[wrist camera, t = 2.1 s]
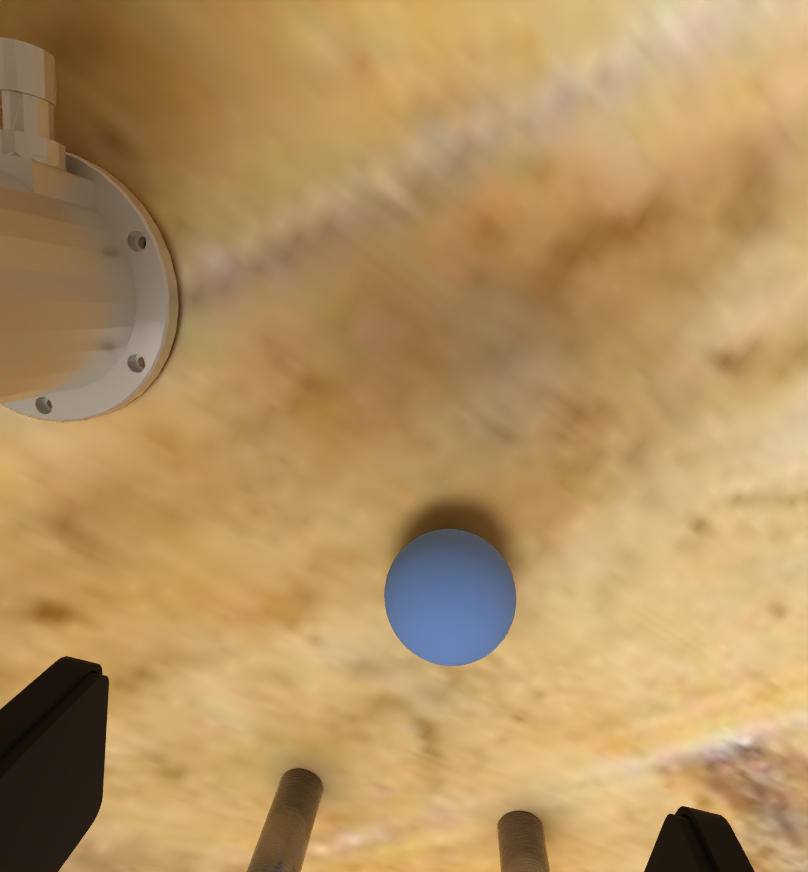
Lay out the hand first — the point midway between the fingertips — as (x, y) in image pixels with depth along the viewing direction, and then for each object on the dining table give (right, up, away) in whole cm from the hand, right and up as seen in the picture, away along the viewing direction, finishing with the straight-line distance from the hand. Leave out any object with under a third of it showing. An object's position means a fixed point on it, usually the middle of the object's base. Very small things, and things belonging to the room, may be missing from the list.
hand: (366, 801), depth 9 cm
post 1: (-6, -15, +23) cm, 28 cm away
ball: (+3, -1, +15) cm, 16 cm away
